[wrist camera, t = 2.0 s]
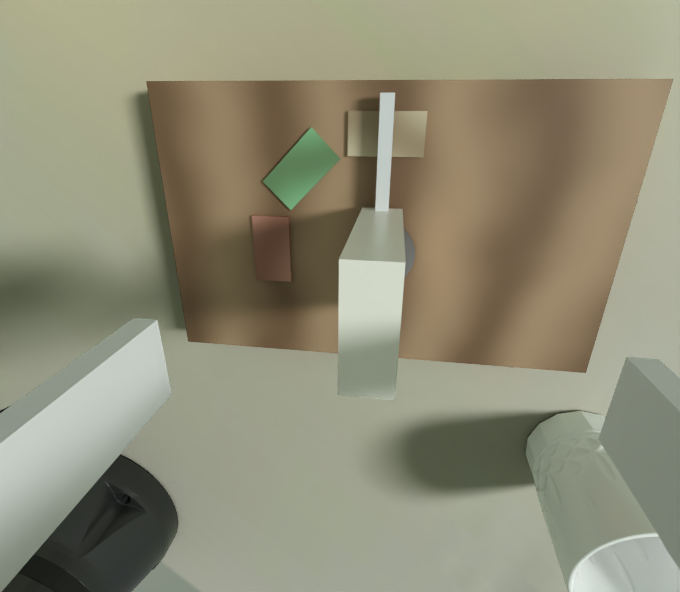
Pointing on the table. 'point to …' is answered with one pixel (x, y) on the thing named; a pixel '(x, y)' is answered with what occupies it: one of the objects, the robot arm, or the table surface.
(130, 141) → the table surface
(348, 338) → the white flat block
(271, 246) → the wooden cutting board
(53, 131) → the table surface
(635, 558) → the white cup
